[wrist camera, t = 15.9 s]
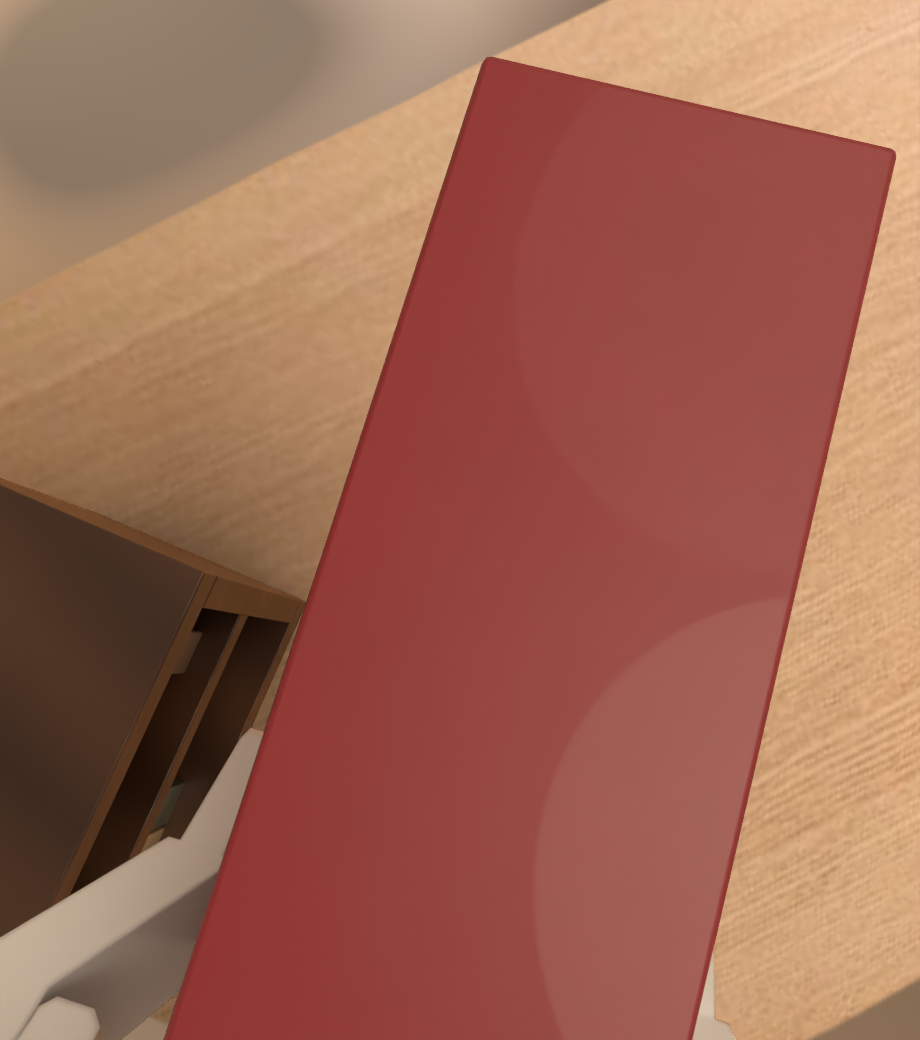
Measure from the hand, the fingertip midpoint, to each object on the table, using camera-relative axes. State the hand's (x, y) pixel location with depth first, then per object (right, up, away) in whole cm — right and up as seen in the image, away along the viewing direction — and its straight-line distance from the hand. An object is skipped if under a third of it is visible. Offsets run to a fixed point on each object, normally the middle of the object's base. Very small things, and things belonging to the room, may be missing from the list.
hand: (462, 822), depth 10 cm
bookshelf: (-16, -5, +30) cm, 34 cm away
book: (+1, 0, +7) cm, 7 cm away
